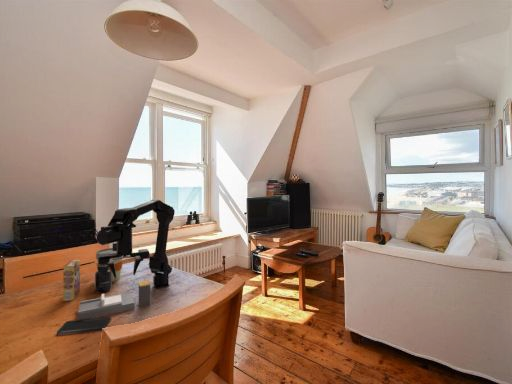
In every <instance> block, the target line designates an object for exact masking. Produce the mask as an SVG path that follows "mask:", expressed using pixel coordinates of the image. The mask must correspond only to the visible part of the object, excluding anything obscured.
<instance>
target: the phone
mask: <svg viewBox="0 0 512 384" xmlns="http://www.w3.org/2000/svg"><path fill="white" fill-rule="evenodd" d="M111 321H112V317H111V316H100V317H95V318H90V319H81V320H78V319H73V320H72V319H71V320H67V321H65V322H64V323H63V324H62V326H61V327H60V328H58V330H57V331H56V335H57V336H62V335H65V336H66V335H71V334H72V335H73V334H82V333H89V332H101V331H103V330H102V328H105V327H107V328H108V326H109V324H110V323H111Z"/></svg>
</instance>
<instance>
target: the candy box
mask: <svg viewBox="0 0 512 384" xmlns="http://www.w3.org/2000/svg"><path fill="white" fill-rule="evenodd" d="M62 268H63V276H62V278H63V279H62V281H63V282H62V301H63V302H67V301H74V300H75V298H76V297H77V296H78V294H79V293H80V292H81V289H80V288H81V287H80V286H81V260H80V259H74V260H69V261H68V262H66V264H65V265H63V267H62Z"/></svg>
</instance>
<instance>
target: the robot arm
mask: <svg viewBox="0 0 512 384" xmlns="http://www.w3.org/2000/svg"><path fill="white" fill-rule="evenodd" d="M151 211H153V212H154V213H155V214H156V215H155V217H156V220H157V222H158V227H157V234H156V235H157V236H156V242H155V250H154V253H153V254H152V255H151V254H150V251H149V249H148V248H143V249H138V250H137V251H138V252H137V251H135V252H133V228H136V227H137V224H135V223H134V222H135V221H137V220H138V218H139V217H140V216H143V215H145V214H147V213H150V212H151ZM174 218H175V209H174V207H173V206H171V205H169V204H167V203H165V202H163V201H162V200H161V199H151V200H149V201H145V202H144V203H141V204H138V205H136V206H133V207H125V208H119V209H116V210H115V211H114V213H113V216H112V217H111V219H110V220H109V222H108V224H107V226H100V230H99V231H98V232H97V235H96V240H97V242H98V243H99V245H100V246H101V245H102V246H105V245H109V244H112V248H113V251H116V253H117V255H110V253H106V254H100V255H99V256H98V264H99V265H100V264H105V265H106V266H109V267H110V269H111V270H112V273H113V275H114V277H115V278H116V271H115V266H114V260H116V259H122V260H125V259H129V258H134V260H133V262H134V263H133V272H132V273H133V276H135V275H136V272H137V271H138V267H139V265H141V264H140V263H142V262H143V261H144V259H149V260H148V266H149V267H148V268H149V270H150V272H151V274H153V276H152V281H153V283H152V284H153V286H154V288H155V289H159V288H164V287H169V286H170V283H169V275H170V274H171V273H172V270H173V267H172V266H171V265H170V264H169V257H168V256H167V253H166V250H167V243H168V238H169V236H168V235H169V229H170V224H171V223H172V221H173V220H174ZM150 255H151V256H150ZM120 256H122V257H120Z"/></svg>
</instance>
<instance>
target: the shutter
mask: <svg viewBox="0 0 512 384" xmlns="http://www.w3.org/2000/svg"><path fill="white" fill-rule="evenodd" d="M116 295H117V294H116ZM111 296H112V295H111ZM101 297H102V299H101V303H102V306H106V305H111V304H116V303H121V302H122V300H121V295H117V296H112V297H107V296H106V297H107V298H104V297H105V293H101Z"/></svg>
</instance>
